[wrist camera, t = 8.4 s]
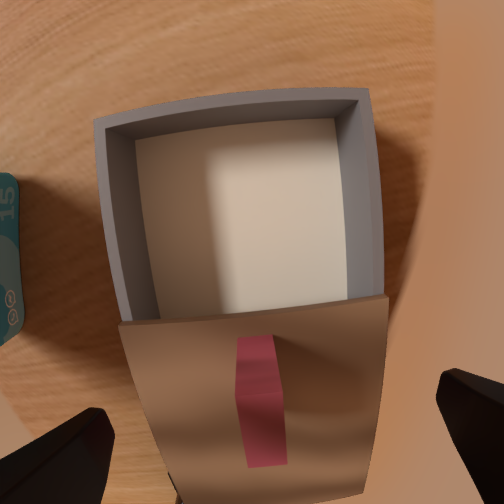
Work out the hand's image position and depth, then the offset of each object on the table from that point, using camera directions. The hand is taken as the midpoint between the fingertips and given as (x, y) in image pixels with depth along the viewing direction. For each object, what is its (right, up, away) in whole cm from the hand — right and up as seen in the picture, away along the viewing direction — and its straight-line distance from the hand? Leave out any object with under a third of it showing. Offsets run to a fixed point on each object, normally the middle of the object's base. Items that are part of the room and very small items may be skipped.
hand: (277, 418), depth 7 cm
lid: (0, -7, +9) cm, 11 cm away
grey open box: (-1, +4, +12) cm, 13 cm away
